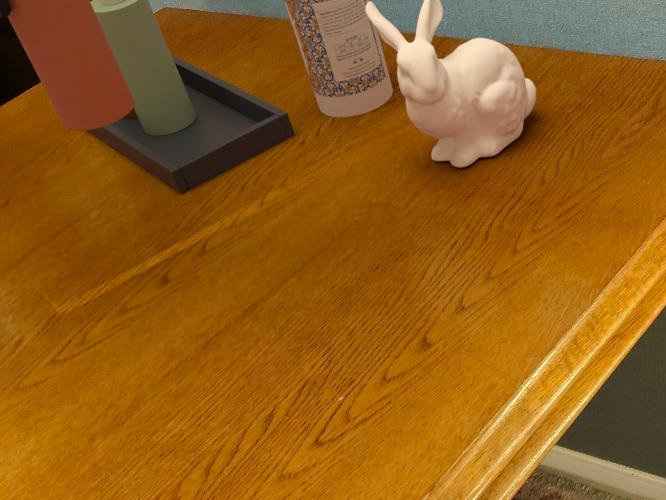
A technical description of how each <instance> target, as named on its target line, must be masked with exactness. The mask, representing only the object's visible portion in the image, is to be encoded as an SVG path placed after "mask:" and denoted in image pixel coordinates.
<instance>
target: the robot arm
mask: <svg viewBox="0 0 666 500" xmlns="http://www.w3.org/2000/svg"><path fill="white" fill-rule="evenodd" d="M10 12H12V10H11V8H10V6H9V4H8V2H7V0H0V18H1V19H4V18H6V17H8V16H9V15H10Z"/></svg>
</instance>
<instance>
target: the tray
mask: <svg viewBox="0 0 666 500" xmlns="http://www.w3.org/2000/svg"><path fill="white" fill-rule="evenodd" d="M171 56H172V58H173V60H174V63H175V65H176V67H177V70H178V72H179V75H180V77H181V79H182V82H183V84H184V86H185V89H186V91H187V94H188V96H189V98H190V101H191V103H192V105H193V108H194V110H195V113H196V119H195V120H194V122H193V123H192V124H190V125H189V126H188V127H186V128H184V129H183V130H180V131H178V132H175V133H172V134H169V135H163V136H152V135H148V134H147V133H146V132H145V131H144V129H143V127H142V125H141V122H140V120H139V118H135V119H125V118H121V119H120V120H118V121H116V122H114V123H111V124H109V125H106V126H103V127H100V128H96V129H92V130H85V131H87V132H88V133H89V134H91V135H92V136H94V137H95V138H97V139H98V140H100V141H101V142H103V143H104V144H105V145H107V146H109V147H110V148H112V149H113V150H115V151H116V152H118V153H119V154H121V155H122V156H123V157H125V158H126V159H128V160H130V161H131V162H132V163H134V164H135V165H137V166H138V167H140V168H142V169H143V170H144V171H146V172H147V173H149V174H150V175H152V176H153V177H155V178H156V179H158V180H159V181H161V182H162V183H164V184H166V185H167V186H168V187H170V188H171V189H173V190H175V191H176V192H177V193H179V194H180V195H184V194H185V193H187V192H189V191H191V190H192V189H195V188H197V187H199V186H201V185H202V184H204V183H206V182H208V181H210V180H212V179H214V178H216V177H218V176H220V175H221V174H223V173H226V172H227V171H229V170H232V169H233V168H235V167H237V166H239V165H241V164H242V163H244V162H247V161H248V160H250V159H252V158H254V157H256V156H258V155H260V154H262V153H263V152H265V151H267V150H269V149H271V148H273V147H275V146H277V145H278V144H281V143H283V142H285V141H287V140H288V139H290V138H292V137H294V136H295V135H296V134H295V131H294V128H293V126H292V122H291V119H290V117H289V114H288V112H287V111H285V110H283V109H281V108H279V107H277V106H275V105H273V104H271V103H269V102H267V101H265V100H263V99H261V98H260V97H257V96H255V95H253V94H251V93H249V92H247V91H245V90H243V89H241V88H240V87H237V86H235V85H234V84H231V83H229V82H227V81H225V80H224V79H221V78H219V77H218V76H215V75H213V74H211V73H209V72H207V71H205V70H203V69H201V68H199V67H197V66H195V65H193V64H192V63H189V62H187V61H185V60H184V59H181V58H179V57H177V56H176V55H174V54H171Z"/></svg>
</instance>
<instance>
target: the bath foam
mask: <svg viewBox="0 0 666 500" xmlns="http://www.w3.org/2000/svg"><path fill="white" fill-rule="evenodd" d="M283 1H284V4H285V7H286V10H287V13H288V17H289V20H290V23H291V26H292V29H293V32H294V35H295V36H294V37H295V39H296V41H297V45H298V48H299V51H300V54H301V57H302V60H303V63H304V67H305V70H306V72H307V75H308V79H309V83H310V85H311V89H312V91H313V94H314V97H315V99H316V103H317V107H318V109H319V111H320V112H321V113H322V114H324V116H325V115H326V116H327V117H328V116H329V117H332V118H349V117H354V116H355V117H356V116H360V115H364V114H367V113H369V112H371V111H374V110H377V109H379V108H380V107H381V106H383V105H385V104H386V103H387V102H388V101H389V100H390V99H391V97H392V96H393V92H394V89H393V85H392V81H391V77H390V74H389V70H388V65H387V62H386V57H385V54H384V51H383V47H382V43H381V39H380V38H381V37H380V34H379V32H378V29H377V28H376V27H375V26H374V25H373V23H372V22H371V21H370V19H369V17H368V16H367V14H366V11H365V10H366V5H367V3H368V2H371V1H370V0H283Z"/></svg>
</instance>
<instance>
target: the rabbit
mask: <svg viewBox="0 0 666 500" xmlns="http://www.w3.org/2000/svg"><path fill="white" fill-rule="evenodd" d="M365 11H366V14H367V16H368V17H369V19H370V21H371V22H372V23H373V25H374V26H375V27H376V28H377V31H378V35H379V37H380V38H381V40H382V41H383V42H384V43H385V44H387V45H388V46H390V47H391V48H392V49H393V50H395V51H396V52H397V54H396V64H397V68H396V69H397V72H396V76H397V83H398V87H399V90H400V93H401V95H402V96H403V97H404V98H405V108H406V113H407V116H408V119H409V121H410V122H411V123H412V124H413V125H414V127H415V128H416V130H418V131H420V132H421V133H422V134H424V135H427V136H429V137H432V138H433V139H437V140H438V142H437V143H436V144H435V146H433V148H432V149H431V155H430V156H431V160H432V161H434V162H450V164H451V165H452V167H455V168H466V167H468V166H470V165H472V164H473V163H475V162H476V161H477V160H478V159H479V158H489V157H494V156H497V155H498V154H500V152H501V151H503V150H504V149H506V148H507V146H509V145H510V144H512V143H513V142H514V141H516V140H517V139H518V138H519V137H520V136H521V135H522V132H523V130H524V120H525V119H526V118H527V117H528V116H529V115H530V114H531V113H532V111H533V109H534V107H535V103H536V101H537V88H536V85H535V84H534V82H533V81H532V80H531V79H529V78H527V77H525V73H524V69H523V68H522V66H521V64H520V61H519V60H518V58H517V55H515V53H514V52H513V51H512V50H511V49H510V48H509V47H507V46H506V45H504V44H502V43H500V42H498V41H496V40H493V39H490V38H485V37H476V38H472V39H470V40H468V41H466V42H464V43H462V44H460V45H458V46H457V47H456V48H455V49H454V51H453V52H451V53H450V54H448V55H446V56H445V57H444V58H438V55H437V53H436V50H435V47H434V46H433V45H432V41H433V37H434V36H435V32H436V31H437V29H438V26H439V25H440V23H441V22H442V19H443V15H444V9H443V5H442V2H441V0H423V3H422V5H421V8H420V12H419V14H418V18H417V24H416V30H415V37H414V40H413V41H412V42H409V41H407V40H406V38H405V37H404V35H403V34H402V33H401V32H400V30H399V29H398V28H397V27H396V26H395V25H394V24H393V23H392V22H390V21H389V20H388V19H386V17H384V16H383V15H382V14H381V12H380V11H379V10H378V8H377V6H376V4H375V3H374V2H372V1H370V2H368V3H367V5H366V10H365Z"/></svg>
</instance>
